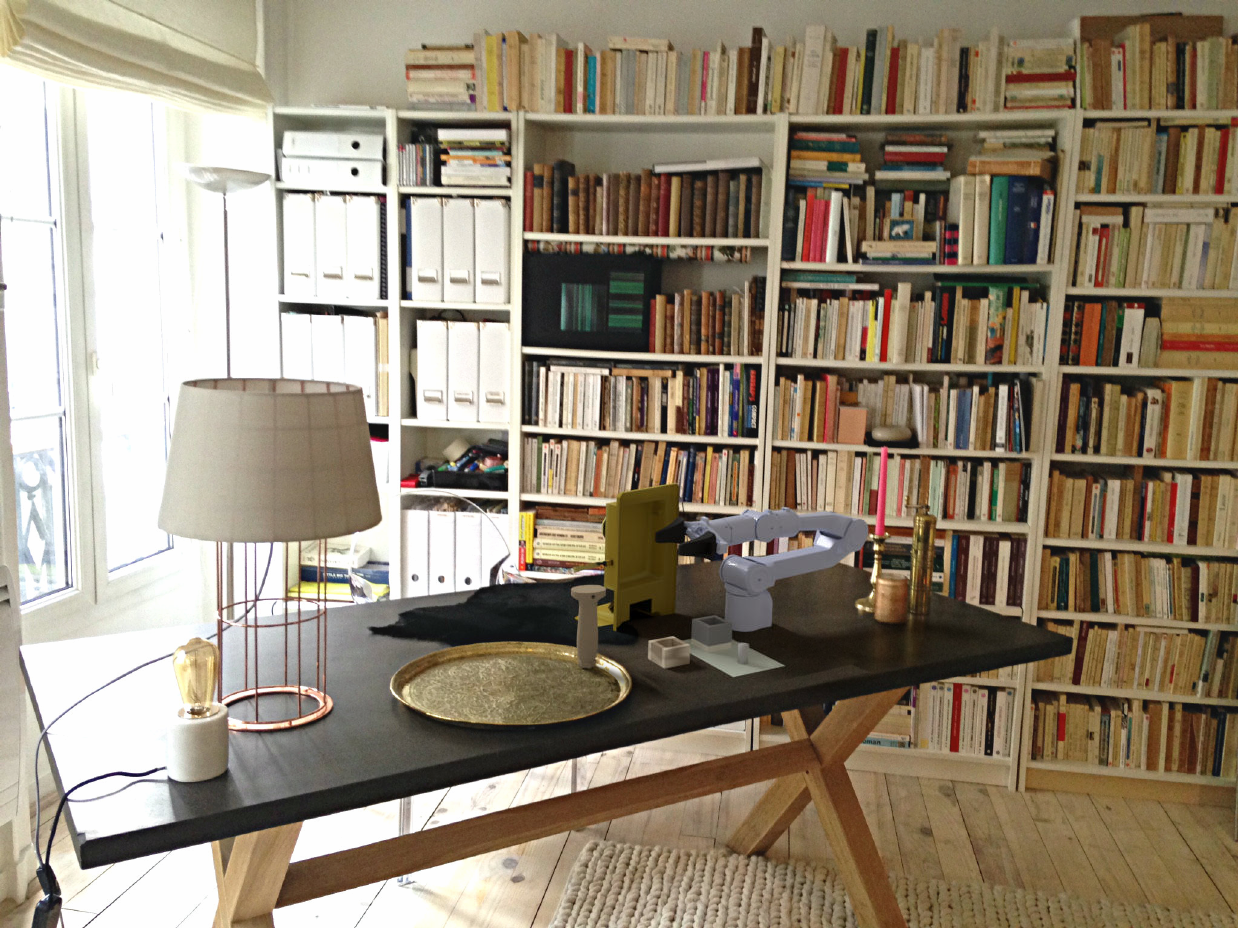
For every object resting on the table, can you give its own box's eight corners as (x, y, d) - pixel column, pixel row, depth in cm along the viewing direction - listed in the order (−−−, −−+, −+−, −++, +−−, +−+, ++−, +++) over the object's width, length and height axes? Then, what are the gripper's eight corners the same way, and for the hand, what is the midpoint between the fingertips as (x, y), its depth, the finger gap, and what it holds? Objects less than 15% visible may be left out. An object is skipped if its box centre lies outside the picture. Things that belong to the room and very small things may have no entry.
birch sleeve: (672, 661, 193) (673, 636, 192) (689, 670, 188) (690, 645, 187) (647, 666, 190) (648, 640, 189) (664, 675, 185) (665, 650, 184)
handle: (607, 668, 188) (609, 590, 186) (575, 672, 186) (576, 594, 183) (597, 659, 193) (599, 583, 190) (566, 663, 190) (567, 586, 188)
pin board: (720, 640, 205) (721, 616, 204) (784, 673, 188) (786, 647, 187) (671, 649, 199) (672, 625, 198) (733, 684, 182) (734, 658, 181)
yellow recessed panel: (653, 597, 233) (657, 469, 227) (699, 612, 223) (704, 478, 218) (550, 627, 211) (552, 486, 206) (596, 644, 201) (600, 497, 196)
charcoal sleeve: (714, 639, 201) (715, 615, 200) (731, 647, 197) (732, 623, 196) (691, 643, 198) (692, 619, 198) (707, 652, 194) (709, 627, 193)
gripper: (701, 503, 208) (647, 513, 201) (747, 525, 196) (690, 536, 189) (699, 535, 210) (645, 546, 203) (744, 558, 198) (688, 571, 191)
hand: (667, 543), depth 196 cm, fingers open, 7 cm apart
